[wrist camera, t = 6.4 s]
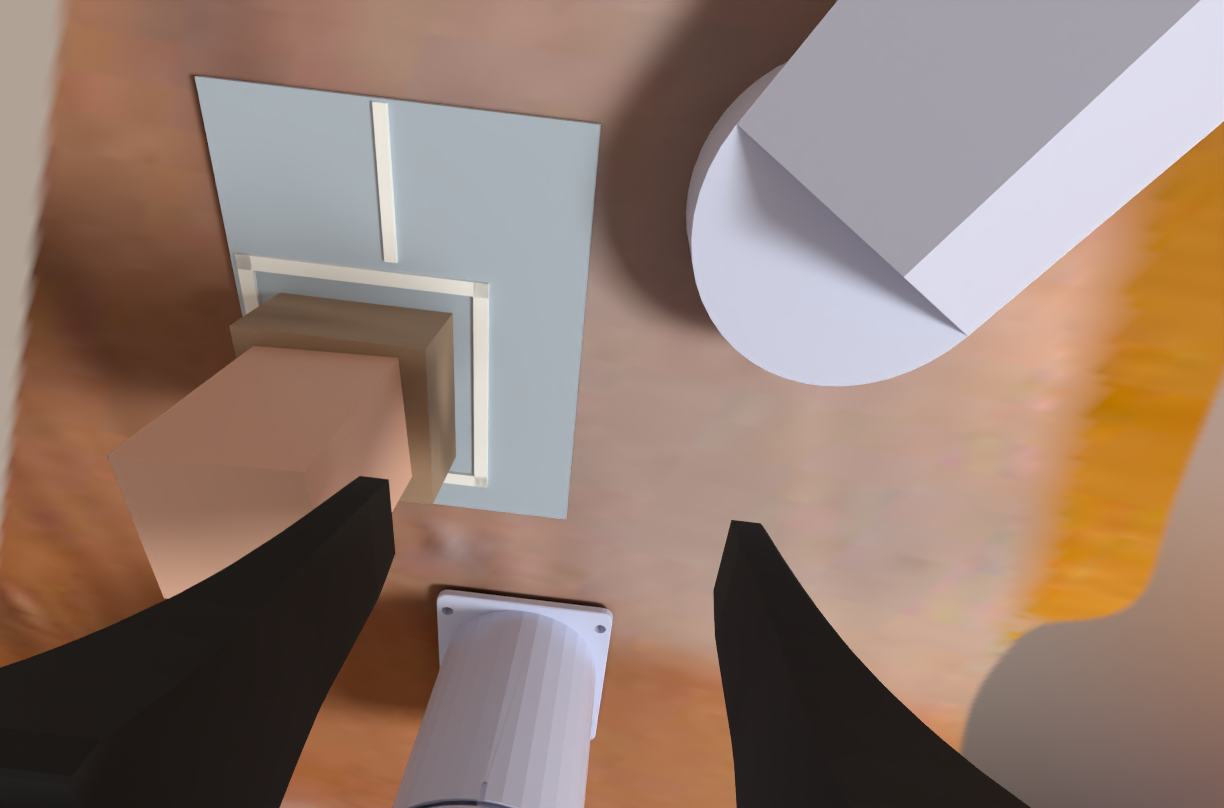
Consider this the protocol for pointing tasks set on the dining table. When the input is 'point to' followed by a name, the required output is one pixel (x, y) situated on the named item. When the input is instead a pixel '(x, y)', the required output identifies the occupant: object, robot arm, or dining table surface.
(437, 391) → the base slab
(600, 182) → the dining table surface
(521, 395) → the board
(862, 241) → the wedge on round base
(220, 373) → the column block
